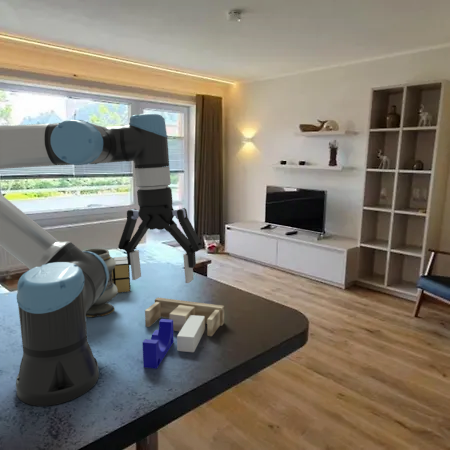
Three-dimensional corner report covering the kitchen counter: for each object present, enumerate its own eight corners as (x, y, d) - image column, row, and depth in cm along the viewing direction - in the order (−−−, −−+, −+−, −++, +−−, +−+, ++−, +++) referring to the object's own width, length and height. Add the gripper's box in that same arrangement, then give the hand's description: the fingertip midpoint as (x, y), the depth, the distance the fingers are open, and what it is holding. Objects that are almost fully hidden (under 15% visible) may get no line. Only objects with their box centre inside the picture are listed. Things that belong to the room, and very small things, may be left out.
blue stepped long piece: (156, 341, 93) (155, 318, 92) (173, 342, 93) (173, 319, 91) (137, 367, 82) (135, 341, 81) (156, 369, 81) (155, 343, 80)
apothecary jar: (77, 322, 103) (72, 259, 100) (73, 306, 114) (69, 249, 111) (121, 314, 109) (119, 254, 105) (114, 300, 119) (111, 245, 116)
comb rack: (214, 336, 95) (214, 318, 94) (143, 325, 101) (142, 308, 100) (224, 323, 103) (224, 305, 102) (158, 313, 109) (157, 297, 108)
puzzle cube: (99, 285, 133) (98, 258, 131) (128, 282, 136) (127, 256, 134) (99, 295, 124) (97, 266, 122) (130, 292, 127) (129, 263, 125)
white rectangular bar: (193, 353, 88) (193, 337, 87) (177, 351, 88) (177, 336, 88) (205, 330, 99) (204, 316, 99) (190, 329, 100) (190, 315, 99)
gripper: (213, 184, 82) (219, 277, 86) (115, 187, 90) (125, 272, 94) (199, 187, 75) (207, 288, 79) (95, 190, 83) (106, 282, 87)
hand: (162, 279), depth 86 cm, fingers open, 13 cm apart
